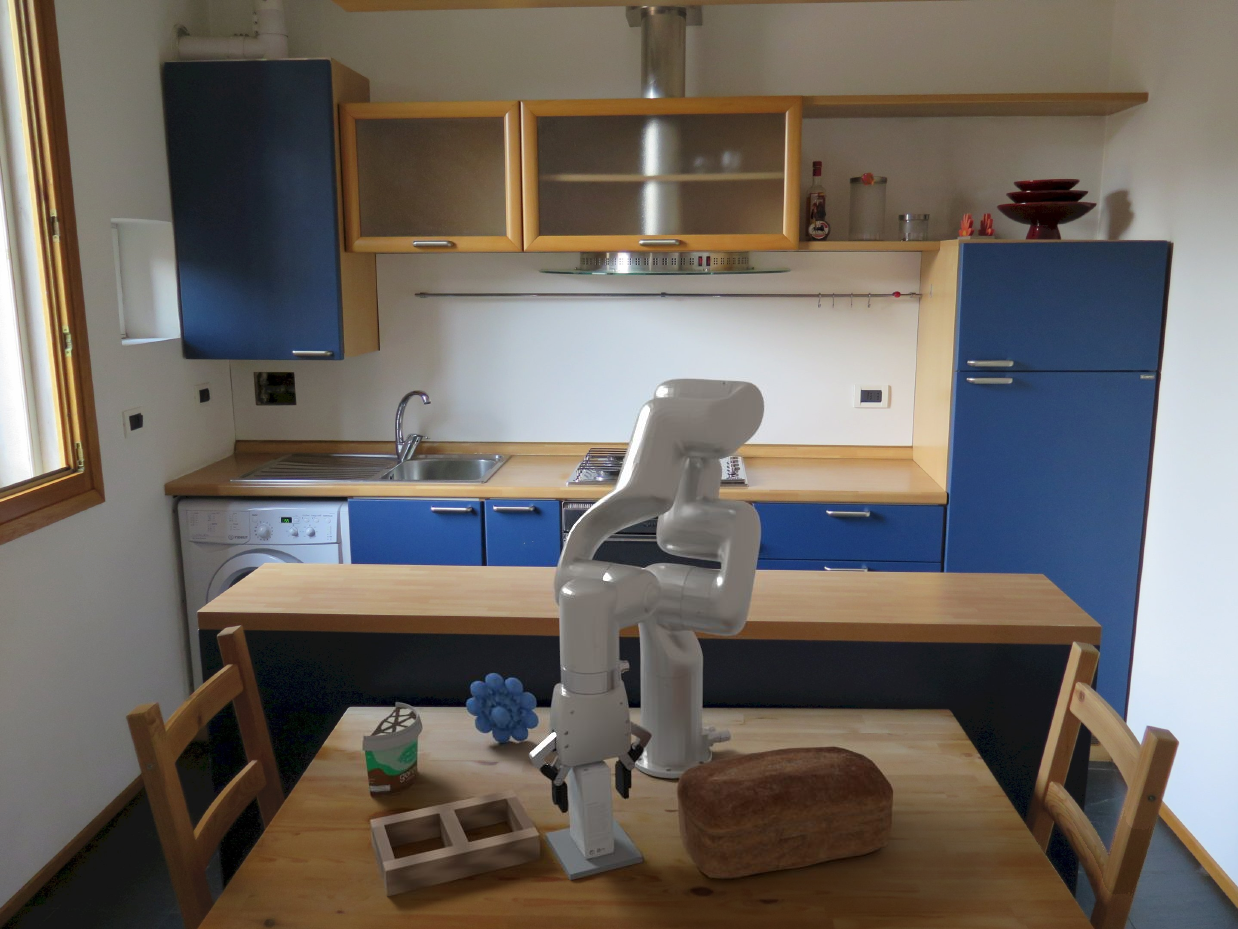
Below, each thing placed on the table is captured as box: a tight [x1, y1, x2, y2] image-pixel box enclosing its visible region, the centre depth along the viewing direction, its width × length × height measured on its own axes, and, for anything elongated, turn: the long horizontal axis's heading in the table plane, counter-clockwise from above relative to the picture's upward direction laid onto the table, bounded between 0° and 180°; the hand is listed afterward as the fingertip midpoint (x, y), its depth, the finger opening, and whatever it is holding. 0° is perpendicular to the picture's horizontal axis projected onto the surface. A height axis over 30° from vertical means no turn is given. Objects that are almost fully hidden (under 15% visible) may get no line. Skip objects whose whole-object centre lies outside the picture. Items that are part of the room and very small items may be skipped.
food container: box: [362, 701, 423, 797], centre depth 150 cm, size 12×6×10 cm, turn 168°
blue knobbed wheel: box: [465, 672, 540, 744], centre depth 160 cm, size 12×7×12 cm, turn 90°
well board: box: [369, 789, 541, 897], centre depth 132 cm, size 20×12×4 cm, turn 112°
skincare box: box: [566, 760, 614, 859], centre depth 131 cm, size 6×4×12 cm
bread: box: [676, 746, 894, 880], centre depth 132 cm, size 14×28×12 cm, turn 106°
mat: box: [544, 817, 644, 881], centre depth 133 cm, size 10×10×1 cm
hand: (592, 800), depth 131 cm, fingers open, 8 cm apart
